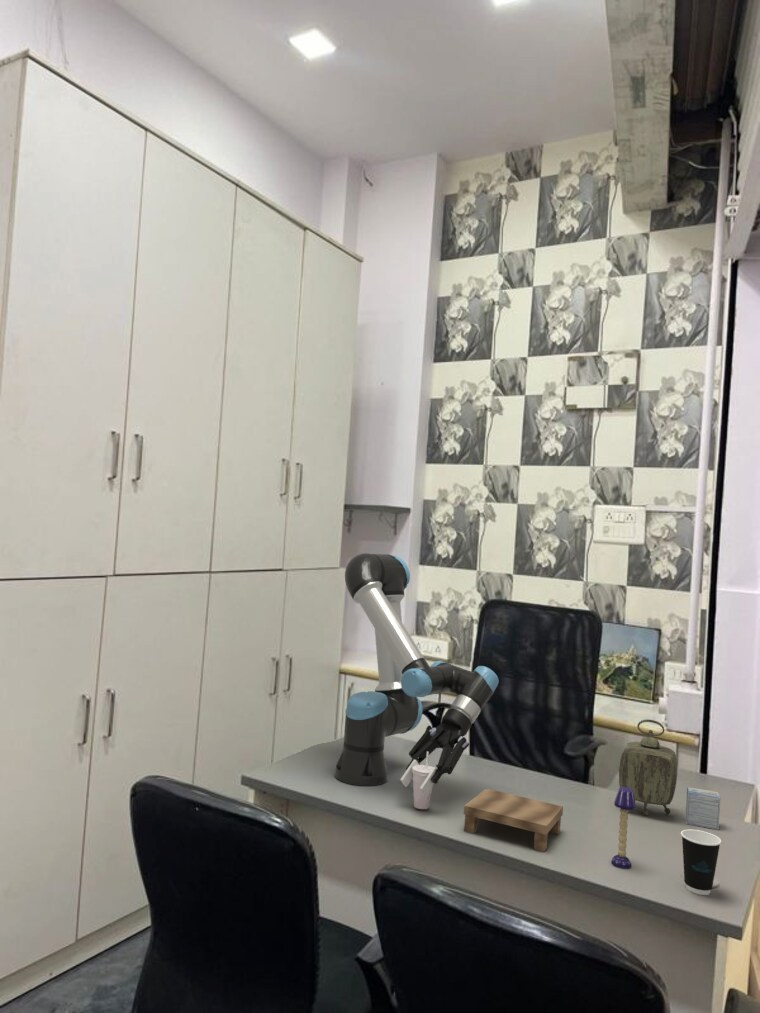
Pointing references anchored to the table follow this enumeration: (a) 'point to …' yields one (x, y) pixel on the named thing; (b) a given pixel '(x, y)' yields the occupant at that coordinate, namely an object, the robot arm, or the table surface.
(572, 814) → the table surface
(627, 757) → the tabletop clock
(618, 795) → the toy lamp
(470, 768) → the table surface
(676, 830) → the table surface
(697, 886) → the dixie cup
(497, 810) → the step stool
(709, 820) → the medicine box
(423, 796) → the smoothie
